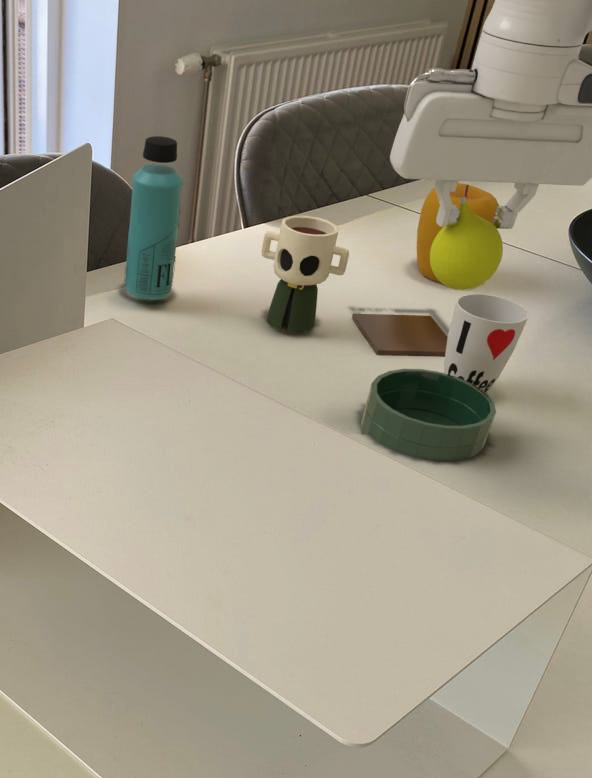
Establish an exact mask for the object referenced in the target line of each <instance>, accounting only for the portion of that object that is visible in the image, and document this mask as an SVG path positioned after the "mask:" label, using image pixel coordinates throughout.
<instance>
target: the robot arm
mask: <svg viewBox="0 0 592 778" xmlns="http://www.w3.org/2000/svg"><path fill="white" fill-rule="evenodd" d="M590 32H592V0H494V2H493V5H492V8H491V9H490V12H489V13H488V15H487V17H486V19H485V21H484V23H483V25H482V30H481V33H480V37H479V40H478V44H477V47H476V51H475V54H474V59H473V62H472V66H471V69H466V68H465V69H463V68H457V69H444V68H441V67H432V68H428V69H427V70H426V72H424V73H421V74H419V75H418V76H416V77H415V78H414V79H413V80H412V81H411V82H410V83H409V86H408V88H407V92H406V95H405V100H404V105H403V115H402V118H401V121H400V123H399V126H398V129H397V131H396V134H395V137H394V141H393V143H392V147H391V150H390V155H389V162H390V164H391V167H392V168H393V170H394V171H395V172H396V173H397V174H398V175H399V176H400V177H401V178H403V179H406V180H424V181H425V180H429V181H434V188H435V189H436V193H437V197H438V201H439V204H440V207H439V210H438V214H437V218H436V222H437V224H438V225H439V226H440V227H455V226H456V224H457V220H456V219H457V218H458V217H459V214H460V209H458V208H457V207H456V206H455V205H454V204H452V202H451V197H450V192H455V191H456V188H457V185H458V183H459V182H476V183H501V184H502V183H503V184H514V185H513V188H514V189H515V190H516V191H515V192H514V193H513V195H512V196H511V197H510V199H509V200H508V201H507V202H506V204H505V205H499V206H497V209H496V212H495V213H496V216H495V217H494V219H493V225H494V226H496V228H497V230H498V229H500V230H501V229H502V230H512V229H513V228H514V226H515V224H516V221H517V217H518V214H519V213H520V212H522V211H523V209H524V208H525V207H526V206H527V205H528V204H529V202H530V201H531V200H533V198H535V196H536V193H537V191H538V187H539V185H552V186H574V187H575V186H576V187H577V186H578V187H580V186H584V185H586V184H587V183H588V182H590V181H591V179H592V63H591V62H589V61H588V60H586V59H584V58H582V57H580V56H579V55H580V53H581V50H582V47H583V43H584V41H585V38H586V36H587V34H589V33H590ZM423 79H425V80H423Z"/></svg>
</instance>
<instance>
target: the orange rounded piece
mask: <svg viewBox="0 0 592 778" xmlns="http://www.w3.org/2000/svg"><path fill="white" fill-rule="evenodd" d="M461 185H463V186H461ZM461 192H462V194H461ZM462 195H463V196H462ZM450 197H451V202H452V204H454V205H455V206H456V207H457V208H458V209H459V208H460V198H462V197H466V200H467V206H468V208H469V210H470V211H471V212H472V213H473V214H475V215H477V216H479V217H481V218H483V219H485V220H487V221H489V222H490V223H492V224H493V219H494V217H495V216H496V213H495V212H496V209H497V206H500V204H499V202H498V199H497V197H495V195H493V194H492V193H490V192H488V191H486V190H485V189H484V190H483V189H481V188H479V187H477V186H474V185H470V184H466V183H460V182H458V185H457V188H456V191H455V192H450ZM439 207H440V204H439V201H438V197H437V193H436V189H435V187H434V188H433V187H432V189H431V190H430V191H429V193H428V194H427V196H426V197H425V198H424V201H423V204H422V206H421V210H420V215H419V220H418V225H417V230H416V231H417V232H416V260H417V261H416V262H417V266H418V271H419V272H420V273H421V274H422V276H424V277H425V278H427V279H429V280H431V281H433V282H436V283H441V282H440V281H439V280H438V279H437V278H436V277H435V275H434V273H433V271H432V268H431V265H430V251H431V246H432V243H433V241H434V239H435V237H436V236H437V234H438V233H439V232H440V230H441V229H442V228H443V227H440V226H439V225H438V224H437V222H436V218H437V214H438V210H439ZM495 227H496V226H495ZM496 229H497V230H498V228H496Z"/></svg>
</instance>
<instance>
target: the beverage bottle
mask: <svg viewBox="0 0 592 778" xmlns="http://www.w3.org/2000/svg"><path fill="white" fill-rule="evenodd" d="M142 157H143V158H144V159H145V160H146V161H149V162H153V163H154V164H153V163H152V164H151V163H150V164H146V165H144V166H142V167H141V168H139V169H138V170H137V171H136V172H135V173H134V174H133V176H132V188H131V189H132V191H131V202H130V203H131V204H130V205H131V206H130V215H129V216H130V217H129V227H128V230H127V231H128V233H127V239H126V242H127V245H125V246H126V247H125V248H126V249H125V250H126V251H125V253H126V256H125V267H124V275H123V277H124V280H123V285H124V287H125V291H126V292H127V294H129V295H130V296H132V297H135V298H137V299H142V300H152V301H155V300H162V299H165V298H168V297H169V296H170V294H171V291H172V290H173V285H174V284H173V283H174V281H173V280H174V278H175V277H174V275H175V272H174V271H175V270H176V265H175V263H176V262H177V261H176V260H177V259H176V258H177V257H176V255H177V253H176V252H177V241H178V230H179V229H180V216H181V209H182V208H181V200H182V189H183V185H184V180H183V178H182V176H181V175H180V174H179V172H178V171H177V170H176V168H173V167H172V166H168V165H164V164H167V163H174V162H176V161H177V159H178V142H177V141H176V139H174V138H171V137H169V136H168V137H167V136H160V135H156V136H155V135H154V136H149V137H147V138H145V141H144V147H143V151H142ZM157 163H159V164H157ZM160 163H161V164H160Z"/></svg>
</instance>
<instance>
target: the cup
mask: <svg viewBox="0 0 592 778" xmlns="http://www.w3.org/2000/svg"><path fill="white" fill-rule="evenodd" d="M529 316H530V314H529V312H528V310H527V308H525V307H524V306H522V305H521V304H520V303H517V302H515V301H513V300H511V299H508V298H506V297H502V296H499V295H493V294H486V293H467V294H464V295H461V296H459V297H457V299H456V301H455V305H454V309H453V314H452V317H451V321H450V325H449V330H448V333H447V336H448V339H447V346H446V353H445V356H444V362H443V373H445V374H448V375H452V376H455V377H458V378H461V379H463V380H465V381H467V382H469V383H471V384H474V385H476V386H477V387H478V388H480V389H481V390H483V391H484V392H486V393H487V394H488V393H489V391H490V389H491V388H492V387H493V386H494V384H495V383H496V382H497V380H498V379H499V378H500V376H501V374H502V372H503V371H504V369H505V367H506V365H507V363H508V362H509V360H510V358H511V356H512V355H513V353H514V351H515V349H516V346H517V344H518V342H519V340H520V338H521V335H522V333H523V330H524V328H525V325H526V324H527V321H528V318H529Z"/></svg>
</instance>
